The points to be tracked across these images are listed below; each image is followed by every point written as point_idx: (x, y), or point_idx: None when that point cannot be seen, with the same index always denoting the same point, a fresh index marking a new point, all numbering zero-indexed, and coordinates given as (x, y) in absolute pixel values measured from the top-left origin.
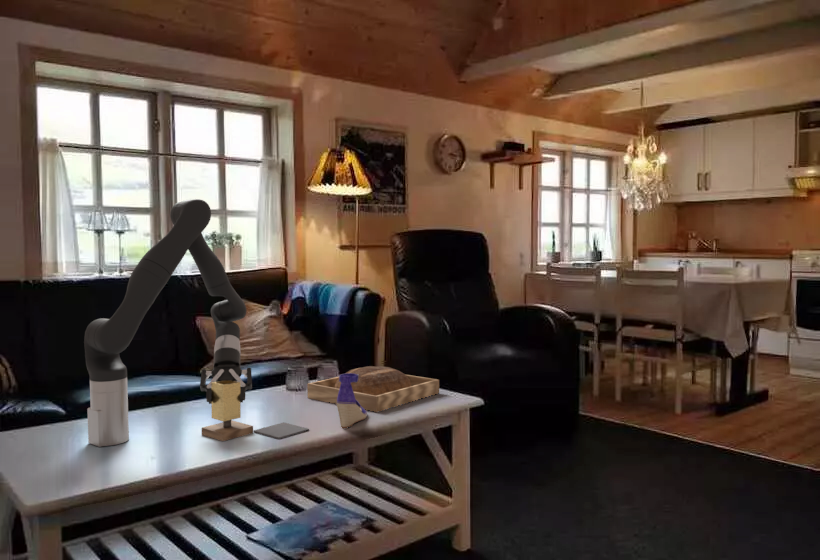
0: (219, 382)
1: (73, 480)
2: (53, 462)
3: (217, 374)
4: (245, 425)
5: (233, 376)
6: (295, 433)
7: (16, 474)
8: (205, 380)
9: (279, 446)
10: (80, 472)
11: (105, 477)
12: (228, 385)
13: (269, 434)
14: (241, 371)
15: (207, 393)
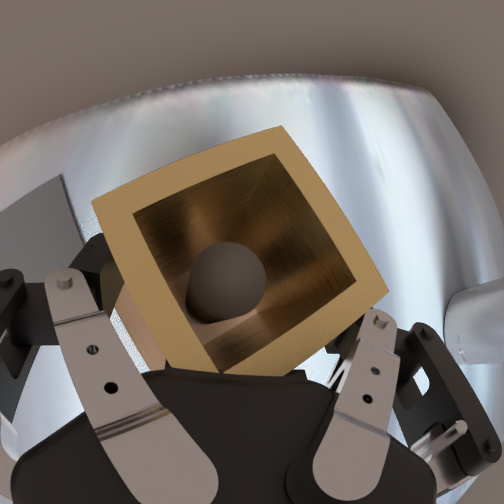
0: (317, 308)
1: (436, 134)
2: (484, 228)
3: (378, 416)
4: (126, 299)
5: (137, 372)
6: (8, 209)
7: (489, 197)
8: (423, 405)
9: (87, 122)
10: (444, 160)
11: (409, 120)
12: (228, 148)
13: (69, 216)
14: (14, 463)
15: None
